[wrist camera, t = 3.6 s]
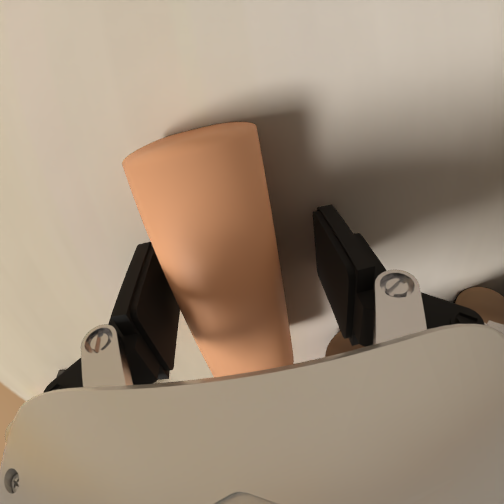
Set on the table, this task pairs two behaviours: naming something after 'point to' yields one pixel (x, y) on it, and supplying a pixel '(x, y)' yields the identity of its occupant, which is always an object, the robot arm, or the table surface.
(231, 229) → the roller
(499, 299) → the roller mid
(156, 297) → the robot arm
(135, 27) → the table surface
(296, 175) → the table surface
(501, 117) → the table surface
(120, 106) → the table surface
